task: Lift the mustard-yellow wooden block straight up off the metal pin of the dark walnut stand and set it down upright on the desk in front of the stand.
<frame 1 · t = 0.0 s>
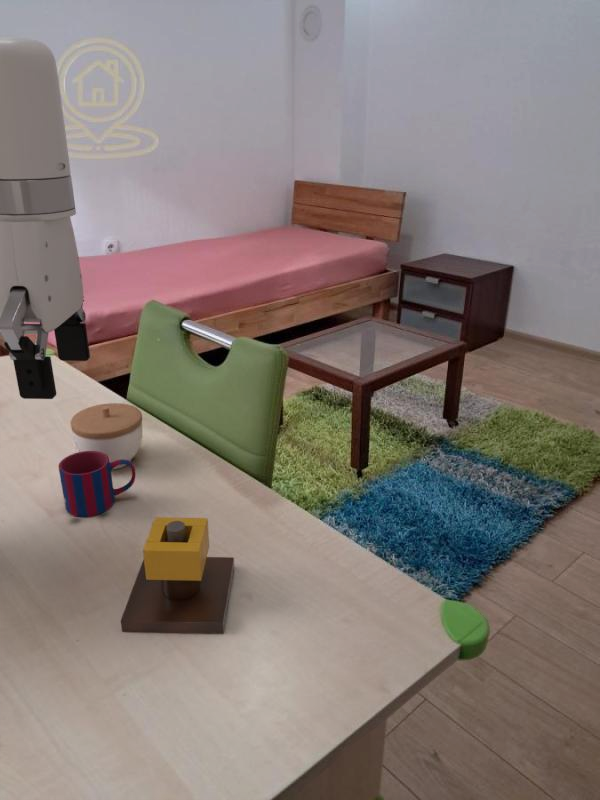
hand: (58, 377, 63), 27 cm above the table, tool pointing down, fingers open, 9 cm apart
yellow block: (178, 562, 71), point 5 cm above the table, touching stand
stand: (181, 597, 73), on the table
mug: (102, 503, 91), on the table
trinket box: (112, 461, 102), on the table
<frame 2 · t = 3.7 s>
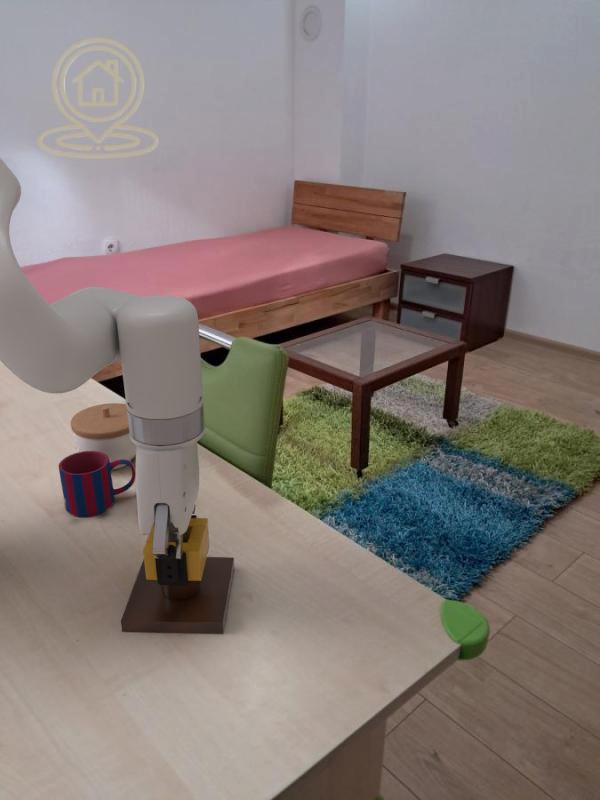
hand: (178, 561, 71), 5 cm above the table, tool pointing down, fingers closed on yellow block, 6 cm apart
yellow block: (178, 562, 71), point 5 cm above the table, touching gripper, stand
everything else where it was.
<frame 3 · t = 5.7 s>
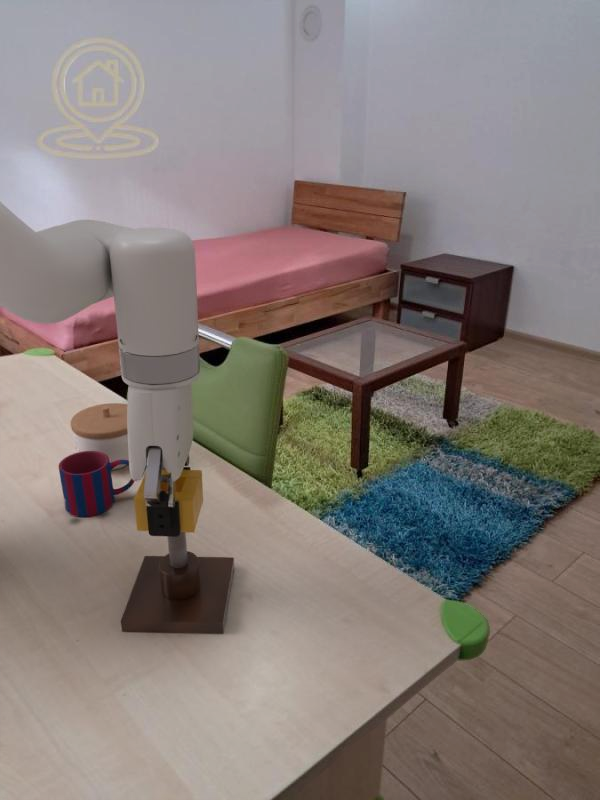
hand: (171, 514, 69), 11 cm above the table, tool pointing down, fingers closed on yellow block, 6 cm apart
yellow block: (171, 515, 69), point 11 cm above the table, touching gripper
everything else where it was.
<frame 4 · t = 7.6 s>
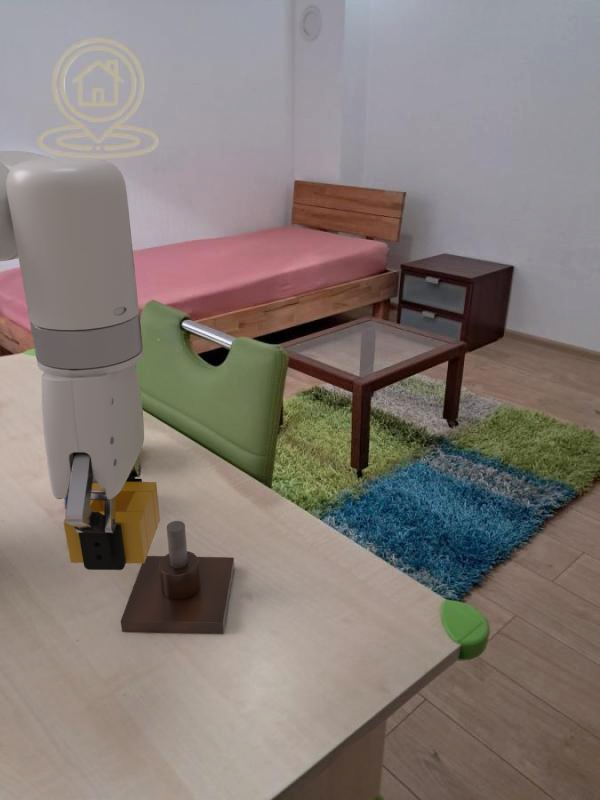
hand: (117, 539, 53), 18 cm above the table, tool pointing down, fingers closed on yellow block, 6 cm apart
yellow block: (117, 540, 54), point 18 cm above the table, touching gripper
everything else where it was.
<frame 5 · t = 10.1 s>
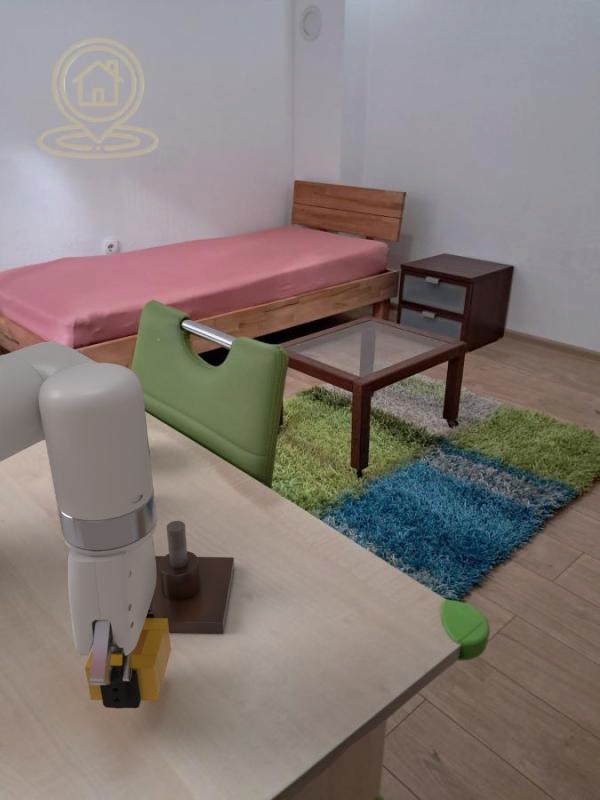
hand: (132, 673, 59), 3 cm above the table, tool pointing down, fingers closed on yellow block, 6 cm apart
yellow block: (132, 673, 59), point 3 cm above the table, touching gripper
everything else where it was.
when the fingers open (0 cm above the table, at t = 11.9 s): yellow block stays where it is, on the table.
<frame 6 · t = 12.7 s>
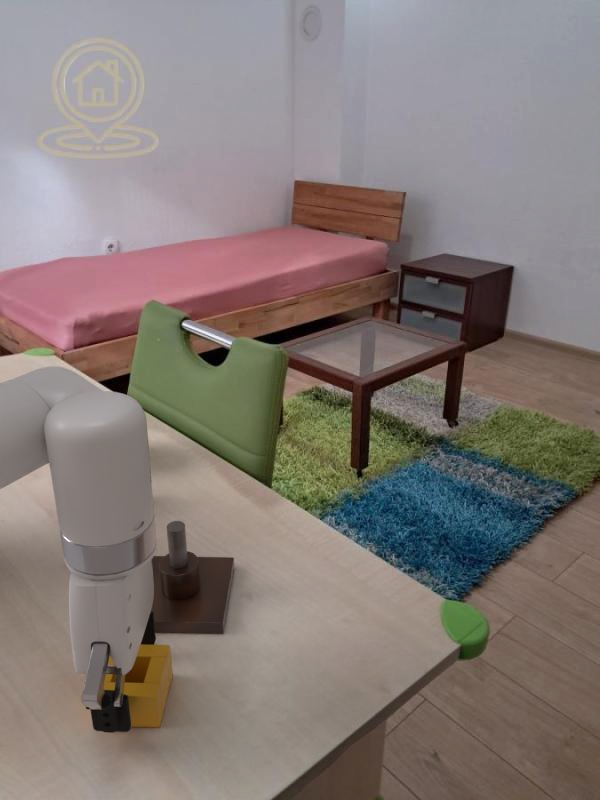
hand: (127, 682, 60), 2 cm above the table, tool pointing down, fingers open, 9 cm apart
yellow block: (135, 699, 61), on the table
everything else where it was.
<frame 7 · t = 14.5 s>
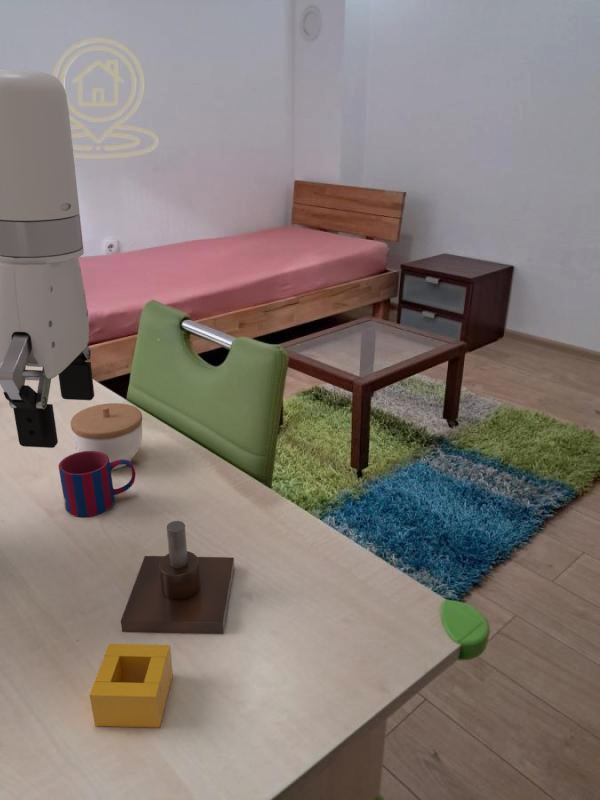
hand: (60, 420, 60), 25 cm above the table, tool pointing down, fingers open, 9 cm apart
nothing on the table moved.
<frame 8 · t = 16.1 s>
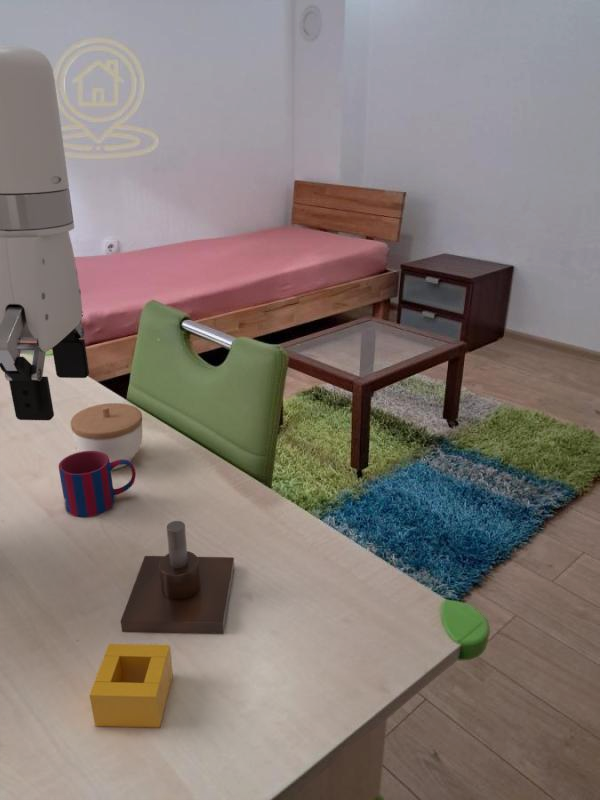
hand: (55, 396, 61), 26 cm above the table, tool pointing down, fingers open, 9 cm apart
nothing on the table moved.
at the end: yellow block inside the target area (0.2 cm from its centre), on the table; yellow block tilted 0°; yellow block touching table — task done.
